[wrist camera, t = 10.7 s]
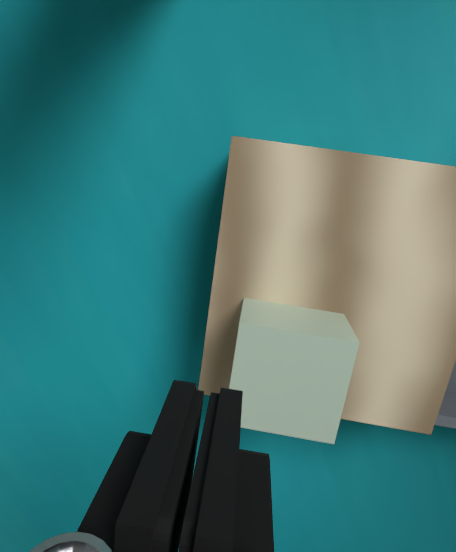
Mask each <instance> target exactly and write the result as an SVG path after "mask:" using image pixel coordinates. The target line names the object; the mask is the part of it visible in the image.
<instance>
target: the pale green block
mask: <svg viewBox="0 0 456 552" xmlns="http://www.w3.org/2000/svg"><path fill="white" fill-rule="evenodd" d="M359 343H360V342H359V340H358V338H357V337H356V335H355V333H354V331H353V329H352V328H351V326H350V324H349V322H348V320H347V319H346V317H345V315H344V314H341V313H335V312H329V311H323V310H317V309H310V308H304V307H298V306H292V305H286V304H279V303H273V302H267V301H261V300H255V299H249V298H244V300H243V305H242V311H241V317H240V322H239V328H238V335H237V341H236V348H235V354H234V360H233V367H232V373H231V380H230V386H229V389H234V390H240V391H243V396H242V412H241V428H246V429H252V430H257V431H263V432H269V433H274V434H280V435H285V436H291V437H296V438H302V439H307V440H313V441H318V442H324V443H329V444H334V443H335V439H336V435H337V431H338V427H339V423H340V419H341V415H342V411H343V407H344V403H345V399H346V395H347V391H348V387H349V383H350V379H351V375H352V371H353V367H354V363H355V359H356V355H357V351H358V347H359Z"/></svg>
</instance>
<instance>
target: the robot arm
mask: <svg viewBox="0 0 456 552" xmlns="http://www.w3.org/2000/svg"><path fill="white" fill-rule="evenodd" d="M203 396H204V391H201V390H196V383H190V382H184V381H178V380H174V381H173V383H172V386H171V388H170V391H169V393H168V396H167V398H166V401H165V403H164V405H163V408H162V410H161V413H160V415H159V418H158V420H157V423H156V425H155V428H154V430H153V433H152V435H151V434H145V433H139V432H133V431H129V432H128V433H127V434H126V436H125V438H124V440H123V442H122V444H121V446H120V448H119V450H118V452H117V454H116V455H115V457H114V459H113V461H112V463H111V465H110V467H109V469H108V471H107V473H106V475H105V477H104V479H103V481H102V483H101V485H100V487H99V489H98V491H97V493H96V495H95V497H94V499H93V501H92V503H91V505H90V507H89V509H88V511H87V513H86V515H85V517H84V519H83V521H82V523H81V525H80V527H79V529H78V531H77V532H72V533H63V534H60V535H57V536H55V537H52V538H49V539H47V540H45V541H44V542H42V543H41V544H39V545H37V546H36V547H34V548H33V549H32V550H31V551H30V552H178V549H179V552H274V541H273V520H272V498H271V477H270V459H269V454H265V453H259V452H253V451H247V450H241V449H239V443H240V428H241V412H242V396H243V391H240V390H234V389H227V388H221V389H220V393H213V392H211V394H210V399H209V404H208V408H207V413H206V418H205V423H204V427H203V432H202V437H201V441H200V446H199V451H198V456H197V460H196V465H195V470H194V463H195V455H196V448H197V441H198V433H199V426H200V419H201V411H202V404H203ZM193 470H194V475H193ZM192 477H193V479H192ZM179 544H180V546H179Z"/></svg>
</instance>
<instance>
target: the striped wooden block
mask: <svg viewBox="0 0 456 552" xmlns="http://www.w3.org/2000/svg"><path fill="white" fill-rule="evenodd" d="M244 298H249V299H255V300H261V301H267V302H273V303H279V304H286V305H292V306H298V307H304V308H310V309H317V310H323V311H329V312H335V313H341V314H344V315H345V317H346V319H347V320H348V322H349V324H350V326H351V328H352V329H353V331H354V333H355V335H356V337H357V338H358V340H359V342H360V343H359V347H358V351H357V355H356V359H355V363H354V367H353V371H352V375H351V379H350V383H349V387H348V391H347V395H346V399H345V403H344V407H343V411H342V415H341V419H345V420H350V421H356V422H362V423H367V424H373V425H379V426H384V427H390V428H396V429H401V430H407V431H413V432H418V433H424V434H430V435H431V434H432V431H433V428H434V425H435V422H436V419H437V416H438V413H439V409H440V406H441V403H442V400H443V397H444V394H445V391H446V388H447V385H448V382H449V379H450V376H451V373H452V370H453V367H454V364H455V361H456V167H454V166H447V165H439V164H432V163H425V162H418V161H411V160H403V159H396V158H389V157H382V156H374V155H367V154H360V153H353V152H345V151H338V150H331V149H324V148H316V147H309V146H302V145H295V144H287V143H280V142H273V141H266V140H258V139H251V138H244V137H237V136H232V138H231V146H230V153H229V161H228V169H227V176H226V184H225V191H224V199H223V206H222V214H221V222H220V229H219V237H218V244H217V252H216V259H215V267H214V275H213V282H212V290H211V297H210V305H209V312H208V320H207V327H206V335H205V343H204V350H203V358H202V365H201V373H200V380H199V388H198V390H201V391H204V395H209V396H210V394H211V392H213V393H220V389H221V388H227V389H229V386H230V380H231V373H232V367H233V360H234V354H235V348H236V341H237V335H238V328H239V322H240V317H241V311H242V305H243V300H244Z"/></svg>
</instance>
